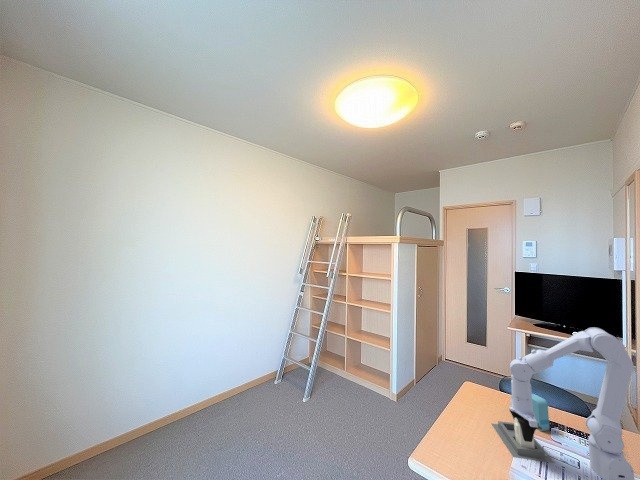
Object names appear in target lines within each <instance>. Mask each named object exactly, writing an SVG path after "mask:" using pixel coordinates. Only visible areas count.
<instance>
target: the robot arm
mask: <svg viewBox="0 0 640 480" xmlns="http://www.w3.org/2000/svg"><path fill="white" fill-rule="evenodd" d="M593 349H594V350H595V351H596V352H598V353H599V354H600V355H601V356H602V357H603V358H604V359H605V360H606V361H607V364H606V367H605V372H604V375H603V380H602V383H601V389H600V392H599V395H598V401H597V404H596V408H595V409H593V410H592V413H591V414H590V415H589V416H588V417H587V418H586V419H585V426H586V428H587V430H588V431H589V432H590V434H589V436H588V437H587V439H588V440H587V441H588V452H589V463H590V465H589V466H590V469H591V470H592V472H593V473H594V474H596V475H597V476H599V477H600V478H601V479H602V480H635V474H634V469H633V467H632V465H631V464H630V462H628V461H627V459H626V458H625V455H624V453H623V451H624V448H625V443H624V441H623V428H622V424H621V419H622V415H623V414H622V413H623V410H624V406H625V403H626V402H625V401H626V398H627V394H628V390H629V385H630V382H631V378H632V373H633V370H634V362H633V361H632V359H631V357H630V355H629V353H628V352H627V350H626V346H625V344H624V343H623V342H621V341H620V340H619V339H618V338H617V337H615V336H614V335H612V334H610V333H608V332H607V331H605V330H604V329H602V328H600V327H595V326H594V327H588V328H587V329H585V330H581V331H578V332H576V333H575V334H573V335H572V336H570V337H568V338H566V339H564V340H563V341H560V342H559V343H558V344H556V345H554V346H552V347H550V348H548V349H546V350H544V349H537V350H536V349H532V350H531V353H529V354H527V355H524V356H519V357H518V359H517V358H515V359H512V360H511V362H510V363H509V369H510V372H511V375H510V378H511V380H510V383H511V385H510V386H511V390H512V395H511V398H510V399H509V402H510V403H509V404H510V405H511V406H508V410H509V413H510V414H511V416H512V418H513V420H514V418H517V420H518V422H519V424H520V426H521V429H522V434H523V438H524V440H525V441H527V442H532V439H533V435H534V434H535V432H536V430H537V428H538V426H539V424H538V423H537V421H536V419H535V415H534V411H533V404H532V393H533V392H532V384H531V379H532V377H533V375H535V374H536V375H537V374H538V373H540V372H543V371H545V370H547V369H549V368H551V367H553V366H554V361H555V360H557V359H558V360H559V359H561V358H563V357H566V356H568V355H571V354H572V353H575V352H577V351H582V352H589V353H594V350H593ZM534 436H535V435H534Z"/></svg>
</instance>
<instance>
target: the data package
mask: <svg viewBox="0 0 640 480" xmlns="http://www.w3.org/2000/svg"><path fill="white" fill-rule="evenodd" d="M510 391H511V393H510V394H511V396H512V389H511V390H510ZM532 404H533V411H534V415H535V419H536V421H537V423H538V424H539V426H541V427H542V430H539V429H536V430H537V431H539V432H546V431H550V419H549V418H550V417H549V405H548V402H547V400H546V399H545V398H543V397H541V396H539V395H537V394H535V393H533V392H532Z"/></svg>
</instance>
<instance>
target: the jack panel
mask: <svg viewBox="0 0 640 480" xmlns="http://www.w3.org/2000/svg"><path fill="white" fill-rule="evenodd" d="M514 423H515V422H509V421H497V423H492V422H491V426H492V427H493V429H494V430H495V432H496V434H497V435H498V437H499V438H500V439H501V441H502V442H503V444H504V445H505V447H506V448H507V450H508V452H509V453H510V455H511V456H512V458H516V459H524V460H531V461H535V462H536V461H538V462H543V463H552V464H556V462H555V461H554V460H553V458H552V457H551V456H550V455H549V453H547V452H546V450H545V449H544V448H543V447H542V446H541V444H540V443H539V442H538V441H537V440H536V438H534V446H535V449H534V448H527V447H520V446H519V445H518V443H517V442H516V438H515V429H514Z"/></svg>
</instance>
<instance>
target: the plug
mask: <svg viewBox="0 0 640 480" xmlns="http://www.w3.org/2000/svg"><path fill="white" fill-rule="evenodd" d="M513 421H514V422H513V423H514V429H515V438H516V442H517V443H518V445H519V446H520V447H527V448H534V449H535V446H534V439H535V435H533V439H532V442H527V441H525V440H524V438H523V434H522V429H521V426H520V424H519V422H518V420H517V418H514V419H513ZM537 429H539V430H542V427H541V426H538V428H537ZM537 429H536V430H537ZM539 430H538V431H539Z"/></svg>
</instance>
